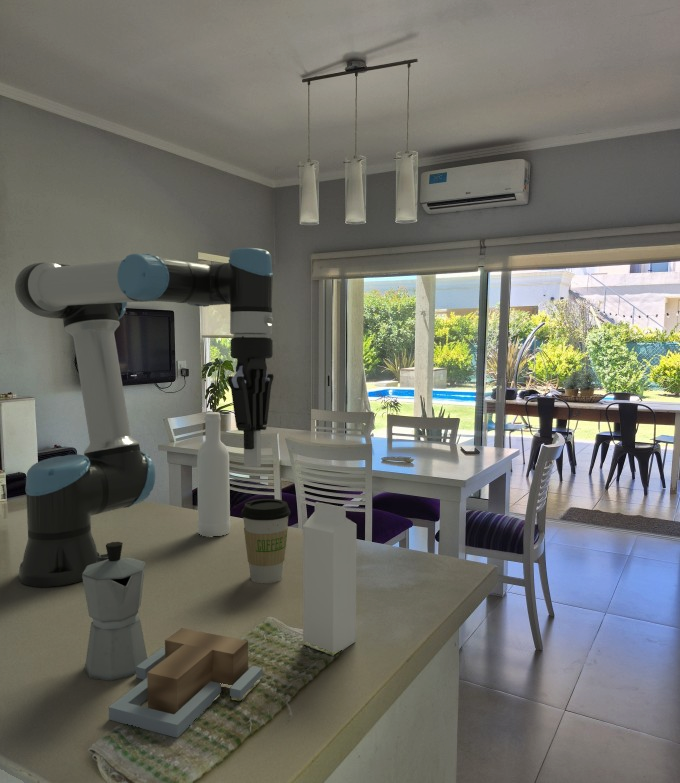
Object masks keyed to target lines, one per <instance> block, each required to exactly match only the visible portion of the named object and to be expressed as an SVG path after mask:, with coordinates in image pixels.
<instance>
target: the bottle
mask: <svg viewBox="0 0 680 783" xmlns="http://www.w3.org/2000/svg"><path fill="white" fill-rule="evenodd" d="M221 420H222V417H221V413H220V412H218V411H217V412H215V411H212V412H211V411H210V412H208V411H207V412H206V413H205V414H204V422H205V424H204V425H205V426H204V427H205V430H204V431H205V441H204V442H203V443H202V444H201V445H200V446H199V448H198V451H197V455H196V460H197V461H196V462H197V463H196V464H197V468H196V470H197V471H196V472H197V476H196V477H197V533H198V535H199V534H200V535H199V536H201V535H202V536H201V537H203V536H221V537H223V536H222V535H224V536H227V535H229V533H230V532H231V510H230V508H231V504H230V500H231V498H230V492H231V491H230V489H231V488H230V452H229V450H228V448H227V446H226V444H225V443H223V442H222V441H221ZM226 534H227V535H226Z"/></svg>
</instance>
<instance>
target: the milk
mask: <svg viewBox="0 0 680 783" xmlns="http://www.w3.org/2000/svg"><path fill="white" fill-rule="evenodd" d="M346 511H347V510H346V508H345V506H340V505H339V506H338V505H333V504H330V503H323V502H318V501H316V502H314V512H313V513H312V514H311V515H310V517H309V518H308V519H307V520H306V521H305V523H304V524H303V525H302V642H303V641H304V642H308V643H310V644H313V645H316V646H318V647H320V648H323V649H326V650H328V651H330V652H332V653H334V652H336V651H338V650H342V651H344V650H346V648H349V646H351V645H352V644H354V643H356V642H357V523H355V522H354V521H352V520H351V519H349V518H348V517H346V515H347V514H346Z"/></svg>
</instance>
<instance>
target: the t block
mask: <svg viewBox="0 0 680 783" xmlns="http://www.w3.org/2000/svg"><path fill="white" fill-rule="evenodd" d="M164 648H165V659H164V660H163V661H162V662H160V663H159V664H158V665H156V666H155V667H154V668H152V669H151V670H150V671H149V672H147V685H148V699H147V708H150V709H154V710H158V711H162V712H166V713H170V714H175V713H176V712H178V711H179V710H180V709H181V708H182V707H183V706H184V705H185V704H186V703H187V702H188V701H190V700H191V699H192V698H193V697H194V696H195V695H196V694H197V693H198V692H199V691H200V690H202V689H203V688H204V687H205V686H206V685H207V684H208V683H209V682H210V681H212V682H216V683H221V684H222V683H223V684H228V685H233V684H234V683H235V682H236V681H237V680H238V679H239V678H240V677H241V676H242V675H243V674H244V673H245V672H246V671H247V670H249V640H247V639H239V638H235V637H231V636H225V635H219V634H214V633H210V632H204V631H199V630H193V629H188V628H183V627H181V628H180V629H178V630H177V631H176V632H174V633H172V634H171V635H170V636H169V637H167V638H166V639H165V640H164Z"/></svg>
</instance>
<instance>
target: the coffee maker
mask: <svg viewBox="0 0 680 783" xmlns="http://www.w3.org/2000/svg"><path fill="white" fill-rule="evenodd" d="M123 545H124V544H123V542H121V541H112V542H111V541H110V542H109V543H106V544H105V549H106V553H105V554H104V553H103V554H99V555H100V556H98V557H97V561H96V563H94V564H91V565H88V566H87V567H86V569H85V570H84V572H83V573H82V578H83V581H82V584H83V589H84V595H85V599H86V607H87V611H88V616H89V618H92V622H91V623H90V629H89V634H88V635H89V637H88V643H87V644H88V645H87V651H86V657H85V658H86V659H85V664H84V669H85V671H86V673H87V675H88V678H89V679H94V680H102V681H108V682H109V681H110V682H113V681H116V680H118V679H123V678H126V677H129V676H133V675H136V666H138V665H139V664H140V663H142V662H143V661H144V660H146V659H147V658H148V654H147V649H146V644H145V639H144V633H143V627H142V622H141V618H140V616H139V615H138V614H139V609H140V607H141V605H142V598H143V588H144V587H143V586H144V580H145V571H146V570H145V569H146V564H147V563H146V561H143V560H140V559H136V558H133V557H122V556H121V555H122V550H123Z"/></svg>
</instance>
